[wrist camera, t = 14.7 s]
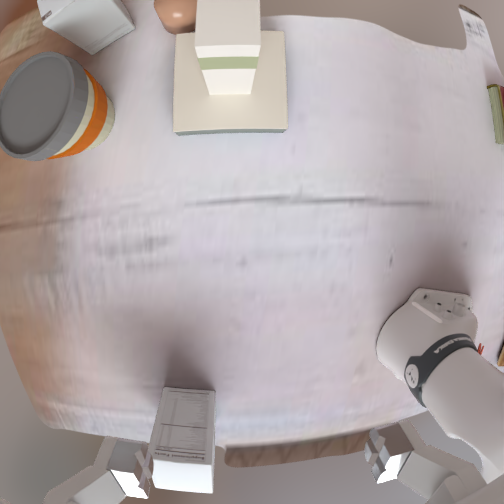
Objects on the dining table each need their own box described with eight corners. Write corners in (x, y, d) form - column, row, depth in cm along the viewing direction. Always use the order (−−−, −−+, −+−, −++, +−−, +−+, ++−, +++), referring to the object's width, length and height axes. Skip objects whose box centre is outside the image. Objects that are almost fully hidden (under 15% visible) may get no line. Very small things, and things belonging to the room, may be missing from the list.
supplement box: (167, 420, 50) (152, 488, 33) (162, 385, 47) (142, 457, 31) (216, 424, 50) (214, 495, 34) (216, 390, 48) (212, 465, 32)
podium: (279, 43, 35) (284, 31, 31) (282, 132, 38) (287, 128, 35) (181, 45, 34) (176, 34, 30) (178, 135, 38) (173, 131, 34)
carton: (250, 58, 32) (260, -3, 17) (251, 94, 33) (261, 45, 19) (209, 59, 32) (196, -2, 17) (209, 95, 33) (193, 47, 18)
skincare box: (126, 7, 31) (92, -41, 17) (137, 30, 33) (102, -19, 19) (81, 35, 32) (34, -2, 18) (90, 59, 33) (40, 24, 19)
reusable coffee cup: (80, 71, 34) (27, 40, 19) (142, 98, 36) (99, 64, 21) (43, 144, 36) (-20, 139, 22) (100, 176, 38) (42, 179, 24)
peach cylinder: (203, 2, 32) (200, -18, 27) (202, 32, 34) (198, 13, 28) (164, 7, 32) (156, -13, 26) (161, 37, 34) (151, 19, 28)
